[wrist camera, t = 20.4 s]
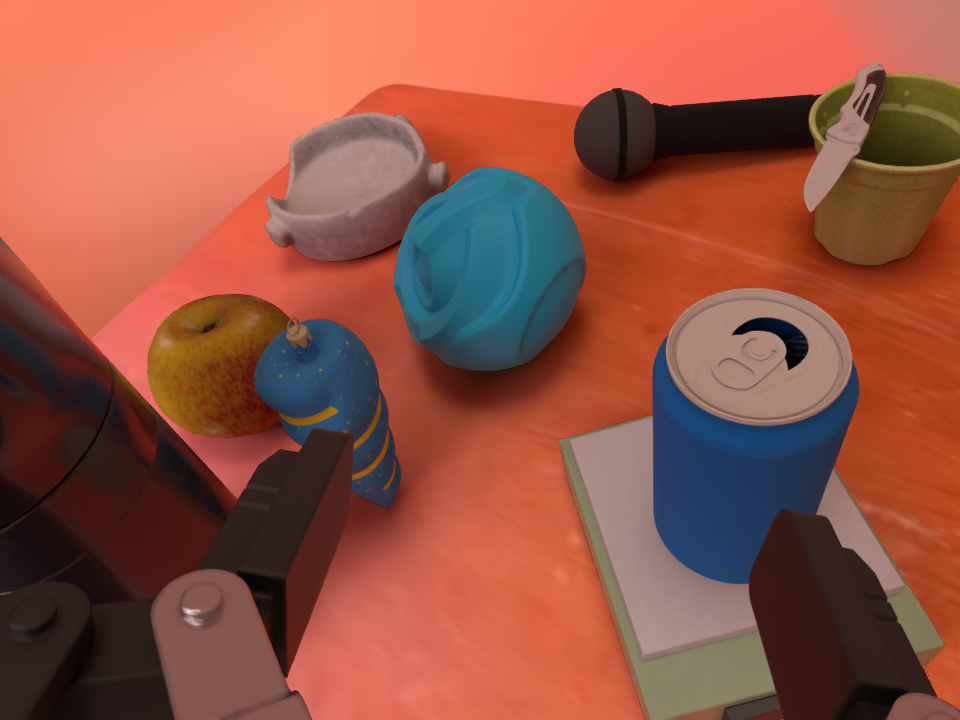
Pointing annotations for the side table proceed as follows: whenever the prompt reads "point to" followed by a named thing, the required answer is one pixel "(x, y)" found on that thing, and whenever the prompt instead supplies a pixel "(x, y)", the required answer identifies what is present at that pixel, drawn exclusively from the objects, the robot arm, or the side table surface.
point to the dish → (354, 187)
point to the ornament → (332, 398)
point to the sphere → (489, 270)
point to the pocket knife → (846, 133)
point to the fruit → (214, 364)
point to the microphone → (683, 129)
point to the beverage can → (745, 423)
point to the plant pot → (890, 168)
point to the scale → (696, 587)
